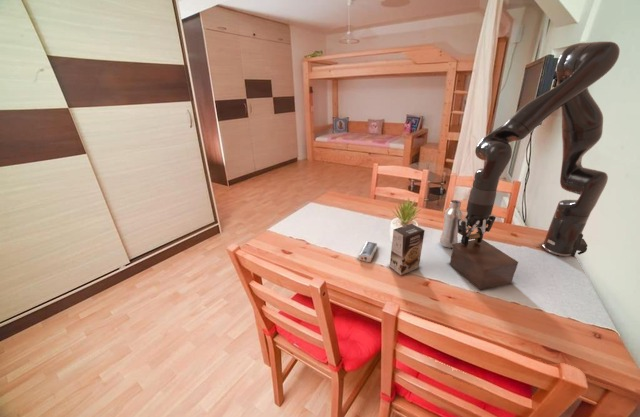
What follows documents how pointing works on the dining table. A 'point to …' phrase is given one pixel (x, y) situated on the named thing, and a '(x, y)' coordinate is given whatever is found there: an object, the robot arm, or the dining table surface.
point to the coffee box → (406, 248)
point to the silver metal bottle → (451, 224)
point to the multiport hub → (368, 251)
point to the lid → (484, 253)
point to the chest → (481, 272)
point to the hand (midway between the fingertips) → (471, 242)
